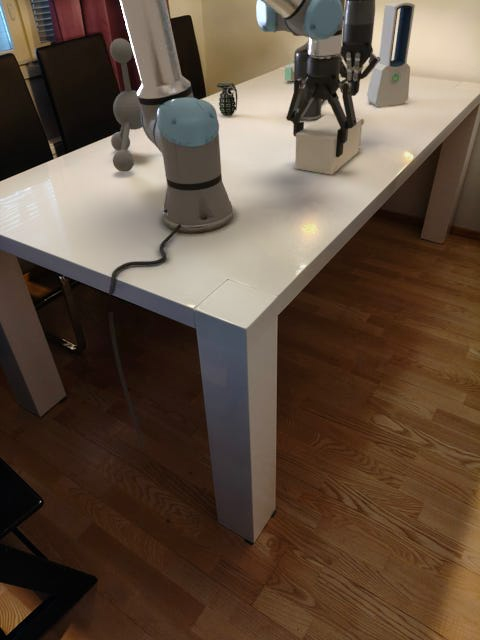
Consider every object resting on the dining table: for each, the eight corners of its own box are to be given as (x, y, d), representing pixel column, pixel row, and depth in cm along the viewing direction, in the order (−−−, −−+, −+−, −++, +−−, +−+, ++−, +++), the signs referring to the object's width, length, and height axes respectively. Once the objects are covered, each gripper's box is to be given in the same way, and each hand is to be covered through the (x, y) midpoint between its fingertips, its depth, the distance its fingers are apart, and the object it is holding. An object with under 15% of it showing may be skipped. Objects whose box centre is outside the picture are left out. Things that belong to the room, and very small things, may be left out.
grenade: (217, 117, 168) (214, 86, 162) (221, 112, 172) (219, 82, 166) (235, 117, 166) (233, 86, 160) (239, 113, 171) (238, 82, 165)
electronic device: (375, 107, 168) (387, 4, 150) (365, 102, 174) (375, 2, 155) (407, 103, 170) (423, 1, 152) (396, 98, 176) (410, -1, 158)
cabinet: (323, 147, 139) (325, 114, 134) (358, 152, 135) (361, 118, 129) (295, 168, 128) (295, 133, 122) (331, 174, 123) (334, 138, 118)
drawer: (337, 135, 144) (338, 111, 140) (366, 139, 140) (369, 114, 135) (303, 160, 129) (304, 133, 125) (335, 165, 125) (338, 138, 121)
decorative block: (306, 53, 217) (348, 56, 208) (306, 69, 221) (346, 73, 212) (276, 65, 201) (319, 68, 192) (276, 82, 205) (318, 86, 196)
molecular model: (197, 163, 134) (184, 38, 115) (117, 178, 128) (90, 49, 109) (174, 139, 151) (159, 27, 133) (103, 151, 145) (77, 36, 127)
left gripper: (378, 55, 109) (367, 153, 122) (287, 50, 119) (286, 141, 132) (366, 61, 104) (356, 163, 117) (272, 55, 114) (272, 150, 127)
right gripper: (389, 19, 121) (380, 94, 132) (339, 18, 127) (335, 90, 138) (379, 23, 116) (371, 100, 127) (328, 22, 122) (324, 96, 133)
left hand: (318, 152), depth 125 cm, fingers closed on cabinet, 10 cm apart
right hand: (352, 95), depth 132 cm, fingers closed
